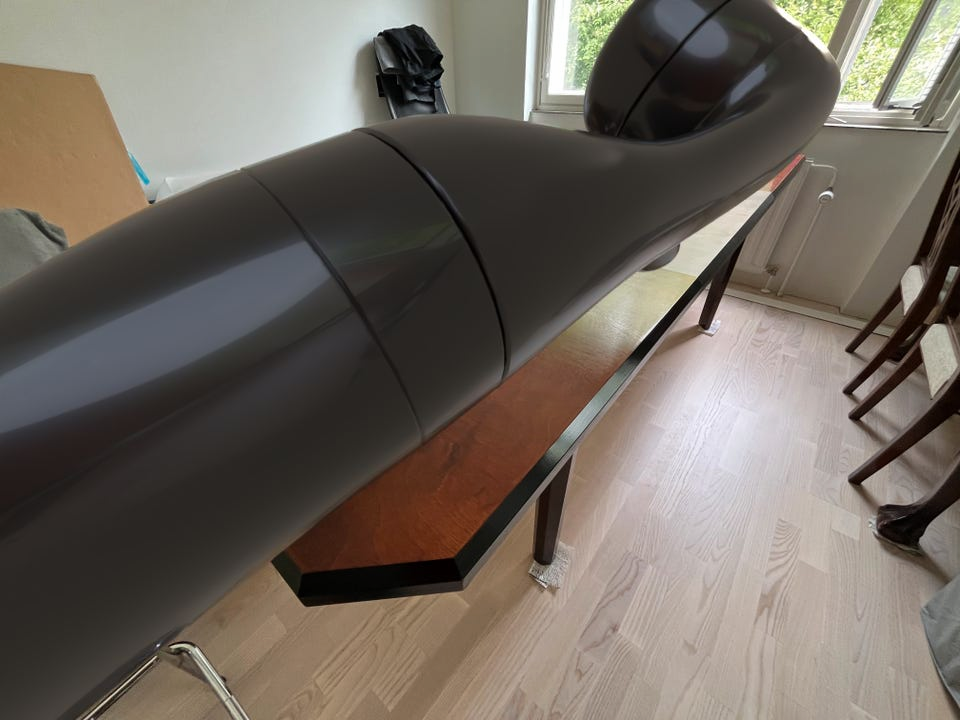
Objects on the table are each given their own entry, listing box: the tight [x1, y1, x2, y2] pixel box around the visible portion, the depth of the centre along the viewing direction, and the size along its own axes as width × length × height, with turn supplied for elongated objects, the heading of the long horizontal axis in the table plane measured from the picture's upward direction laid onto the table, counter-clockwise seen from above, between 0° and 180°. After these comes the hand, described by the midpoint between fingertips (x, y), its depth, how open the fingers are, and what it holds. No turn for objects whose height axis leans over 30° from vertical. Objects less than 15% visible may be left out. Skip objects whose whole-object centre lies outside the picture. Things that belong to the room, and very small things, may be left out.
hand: (398, 257), depth 45 cm, fingers open, 8 cm apart
